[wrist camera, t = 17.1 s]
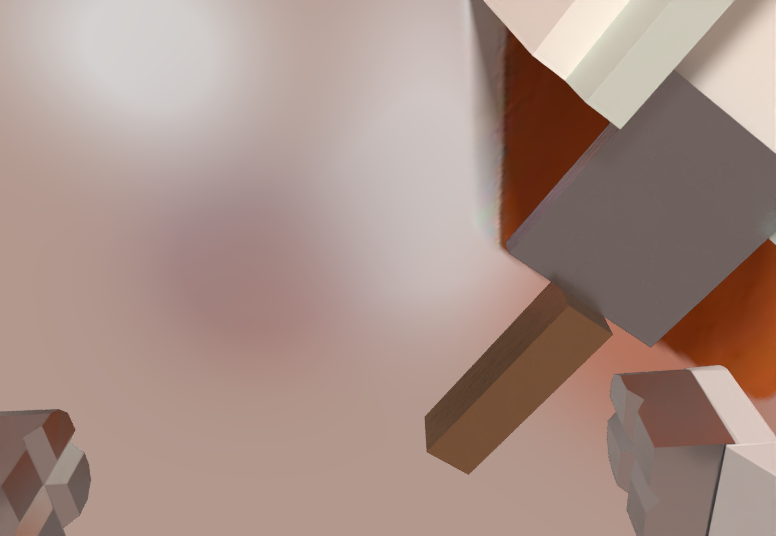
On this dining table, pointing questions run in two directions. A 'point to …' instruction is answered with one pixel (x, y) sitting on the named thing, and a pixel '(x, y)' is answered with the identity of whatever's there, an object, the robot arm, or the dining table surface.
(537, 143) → the dining table surface
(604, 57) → the tall box with rails
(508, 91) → the dining table surface
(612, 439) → the robot arm
